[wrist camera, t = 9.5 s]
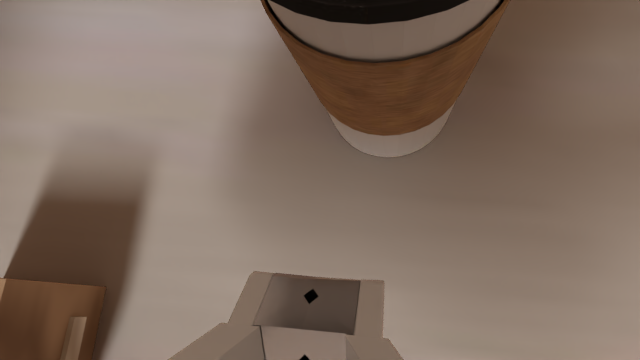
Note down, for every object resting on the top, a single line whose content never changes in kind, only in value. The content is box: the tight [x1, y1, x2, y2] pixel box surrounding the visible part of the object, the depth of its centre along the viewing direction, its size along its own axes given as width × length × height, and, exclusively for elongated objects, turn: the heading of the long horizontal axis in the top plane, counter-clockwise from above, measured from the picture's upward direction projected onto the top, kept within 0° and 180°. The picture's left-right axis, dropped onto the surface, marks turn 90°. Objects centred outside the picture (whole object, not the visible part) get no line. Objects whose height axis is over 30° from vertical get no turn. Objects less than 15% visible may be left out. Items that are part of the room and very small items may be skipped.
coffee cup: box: [261, 0, 510, 157], centre depth 15 cm, size 8×8×15 cm
